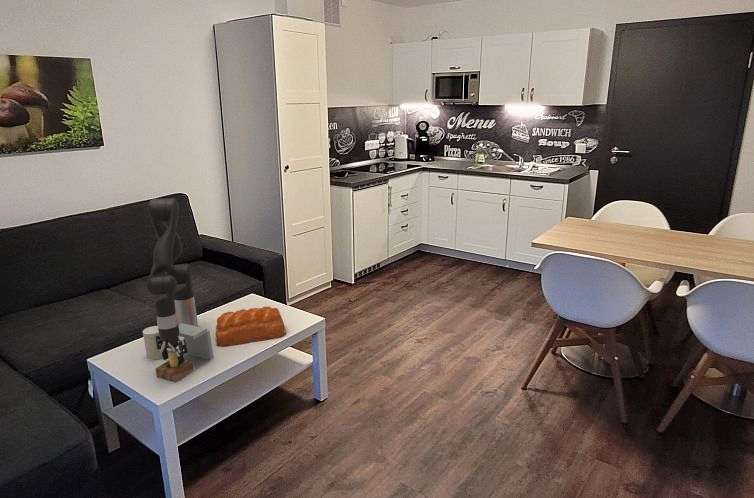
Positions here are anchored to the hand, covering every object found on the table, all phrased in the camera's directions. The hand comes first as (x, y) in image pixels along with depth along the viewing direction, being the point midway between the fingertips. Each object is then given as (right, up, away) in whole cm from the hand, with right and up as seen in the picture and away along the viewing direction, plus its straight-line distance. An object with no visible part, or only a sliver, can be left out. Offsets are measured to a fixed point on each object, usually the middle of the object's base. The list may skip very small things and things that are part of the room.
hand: (173, 361), depth 202 cm
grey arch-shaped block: (+3, -2, +12) cm, 12 cm away
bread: (+23, +4, +34) cm, 41 cm away
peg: (0, -5, +2) cm, 6 cm away
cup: (-14, -1, +17) cm, 22 cm away
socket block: (0, -5, +2) cm, 6 cm away
